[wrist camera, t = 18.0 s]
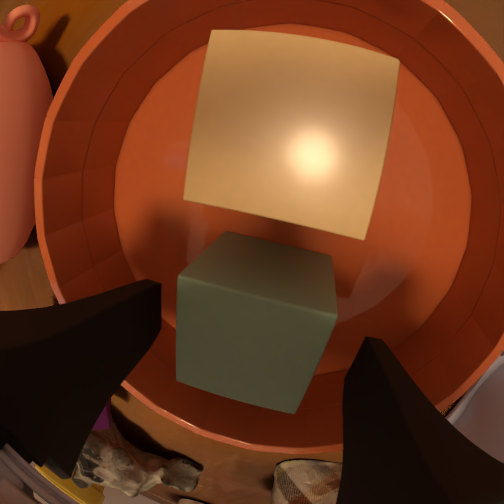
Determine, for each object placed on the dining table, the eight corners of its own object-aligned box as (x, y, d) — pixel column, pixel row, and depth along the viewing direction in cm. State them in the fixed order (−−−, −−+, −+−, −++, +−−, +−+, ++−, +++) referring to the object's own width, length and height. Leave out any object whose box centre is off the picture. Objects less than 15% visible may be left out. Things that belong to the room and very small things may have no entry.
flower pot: (97, 437, 25) (61, 487, 16) (136, 475, 28) (109, 520, 19) (56, 418, 28) (23, 457, 19) (91, 457, 31) (66, 494, 22)
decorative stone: (219, 470, 19) (170, 551, 11) (190, 468, 24) (151, 528, 16) (70, 362, 19) (6, 434, 11) (77, 386, 25) (30, 441, 17)
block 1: (345, 205, 10) (364, 241, 6) (232, 180, 11) (182, 200, 7) (367, 94, 8) (400, 58, 4) (251, 72, 9) (210, 28, 5)
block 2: (304, 341, 12) (294, 415, 8) (213, 318, 13) (175, 380, 9) (332, 255, 11) (339, 316, 7) (225, 230, 11) (176, 274, 7)
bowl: (392, 396, 13) (403, 466, 9) (117, 324, 16) (68, 372, 11) (499, 90, 7) (567, 76, 2) (138, 22, 9) (70, -10, 5)
